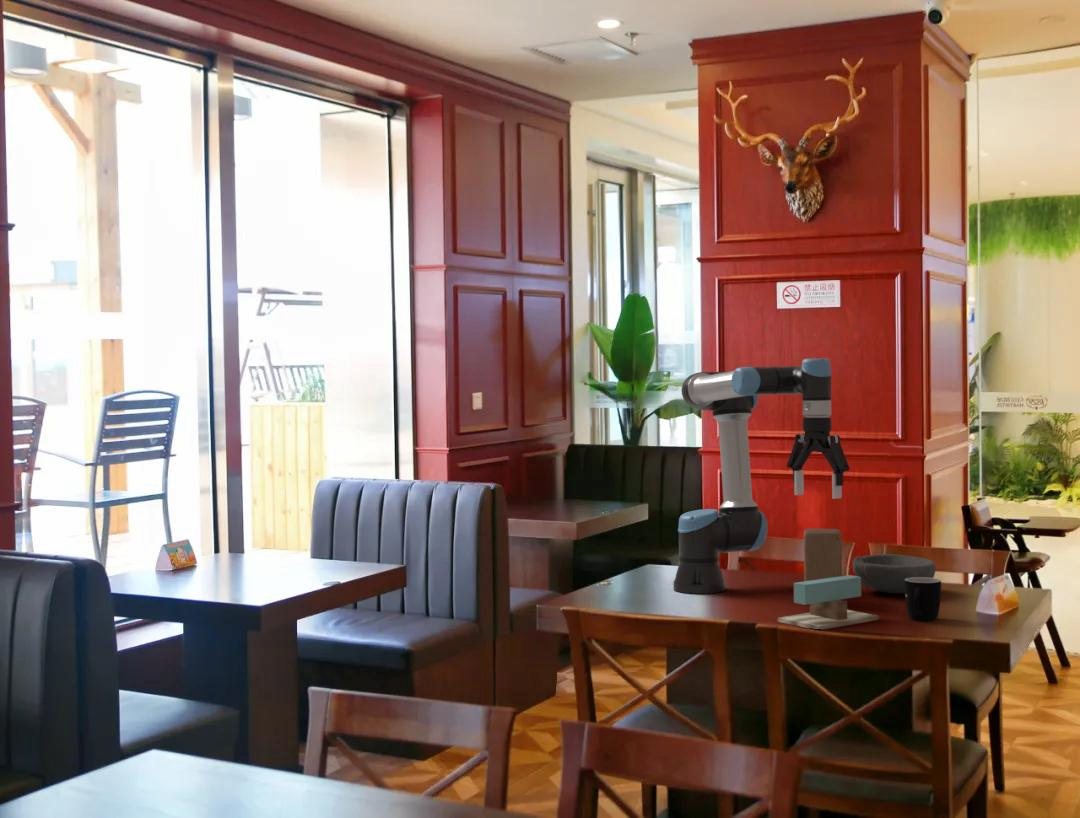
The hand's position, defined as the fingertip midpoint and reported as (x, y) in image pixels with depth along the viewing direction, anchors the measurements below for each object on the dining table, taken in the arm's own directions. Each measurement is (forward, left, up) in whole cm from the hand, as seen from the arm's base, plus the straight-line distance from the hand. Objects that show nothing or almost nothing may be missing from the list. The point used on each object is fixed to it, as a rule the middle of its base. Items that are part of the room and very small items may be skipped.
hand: (817, 496), depth 334 cm
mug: (+24, +12, -31) cm, 41 cm away
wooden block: (-9, +11, -31) cm, 34 cm away
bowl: (-7, +38, -31) cm, 50 cm away
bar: (+10, -7, -25) cm, 28 cm away
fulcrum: (+10, -7, -31) cm, 33 cm away
